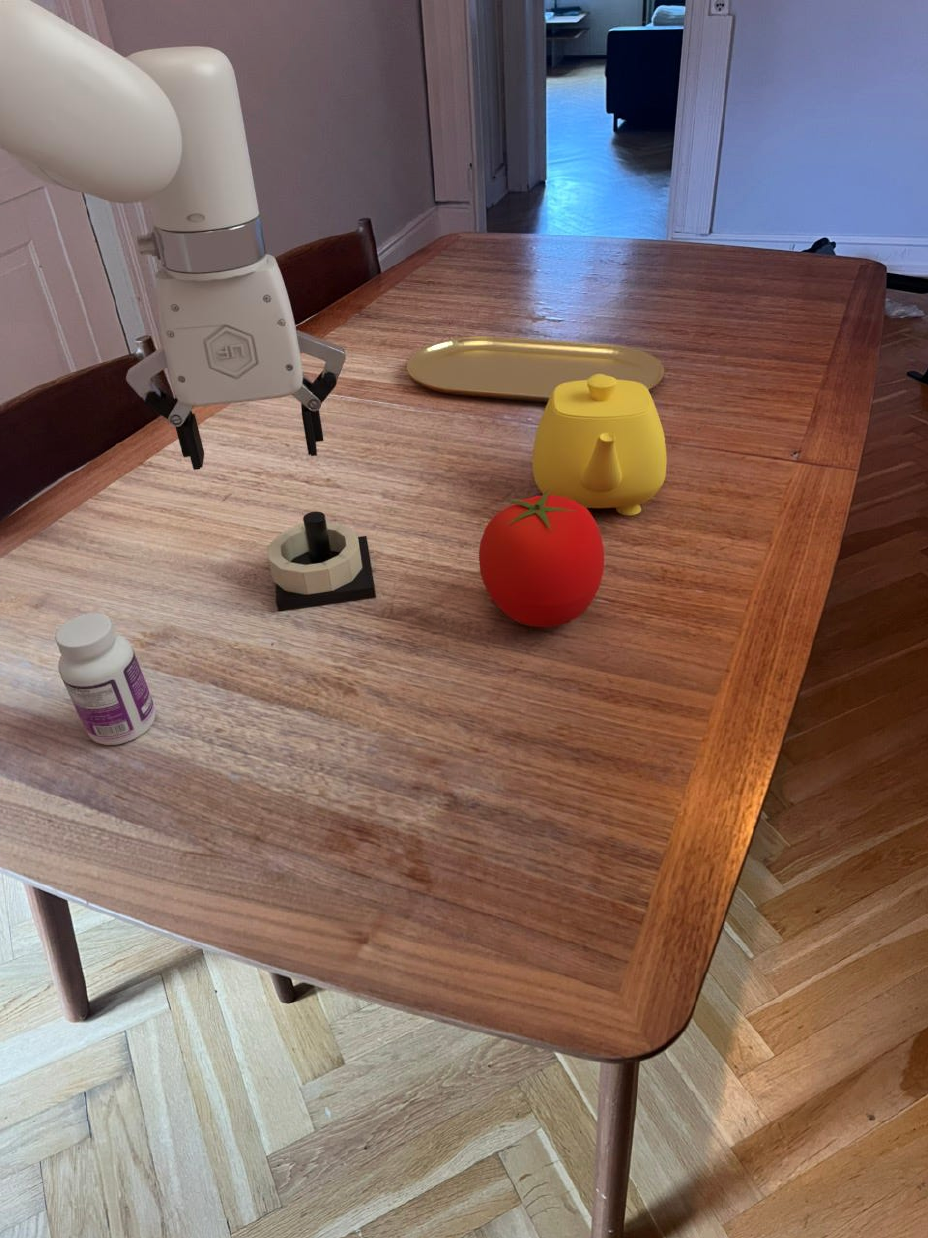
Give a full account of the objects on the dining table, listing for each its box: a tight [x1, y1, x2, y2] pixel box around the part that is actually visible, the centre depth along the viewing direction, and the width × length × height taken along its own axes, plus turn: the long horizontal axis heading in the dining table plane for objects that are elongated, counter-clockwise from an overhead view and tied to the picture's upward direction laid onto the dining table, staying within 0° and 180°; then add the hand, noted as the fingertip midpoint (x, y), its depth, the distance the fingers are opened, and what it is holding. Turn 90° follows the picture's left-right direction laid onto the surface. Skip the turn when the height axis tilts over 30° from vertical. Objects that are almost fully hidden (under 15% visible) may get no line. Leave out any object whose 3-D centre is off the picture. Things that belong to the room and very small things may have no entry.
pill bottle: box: [54, 612, 157, 746], centre depth 67 cm, size 5×5×10 cm
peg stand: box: [275, 511, 377, 612], centre depth 82 cm, size 9×9×7 cm
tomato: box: [478, 490, 605, 628], centre depth 75 cm, size 10×11×11 cm
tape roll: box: [267, 521, 362, 595], centre depth 83 cm, size 8×8×2 cm
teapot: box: [531, 374, 668, 516], centre depth 89 cm, size 14×20×13 cm
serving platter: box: [406, 335, 665, 403], centre depth 119 cm, size 19×35×2 cm, turn 71°
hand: (256, 455), depth 76 cm, fingers open, 9 cm apart
